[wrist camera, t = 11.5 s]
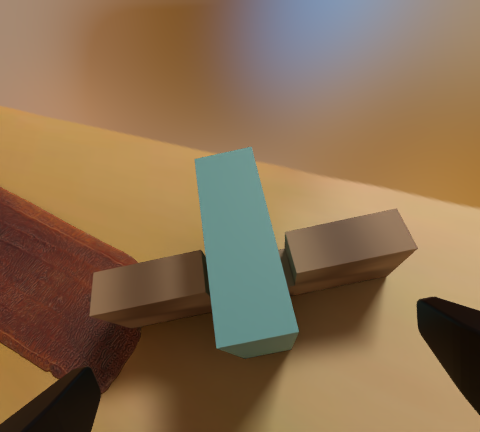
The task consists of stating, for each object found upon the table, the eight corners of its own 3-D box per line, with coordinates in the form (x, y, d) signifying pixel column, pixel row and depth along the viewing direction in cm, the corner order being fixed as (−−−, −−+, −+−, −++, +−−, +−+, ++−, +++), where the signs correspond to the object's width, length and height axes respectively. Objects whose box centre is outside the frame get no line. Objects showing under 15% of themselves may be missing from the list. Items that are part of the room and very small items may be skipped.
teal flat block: (291, 349, 18) (299, 331, 10) (244, 358, 18) (216, 348, 10) (261, 225, 22) (251, 146, 14) (224, 233, 22) (194, 159, 14)
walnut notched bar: (372, 243, 20) (396, 208, 16) (386, 276, 19) (418, 248, 15) (132, 293, 21) (93, 272, 17) (131, 328, 20) (89, 316, 15)
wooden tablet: (-107, 257, 26) (-130, 251, 25) (-21, 177, 30) (-37, 167, 29) (95, 422, 18) (79, 427, 16) (180, 280, 21) (173, 274, 20)
